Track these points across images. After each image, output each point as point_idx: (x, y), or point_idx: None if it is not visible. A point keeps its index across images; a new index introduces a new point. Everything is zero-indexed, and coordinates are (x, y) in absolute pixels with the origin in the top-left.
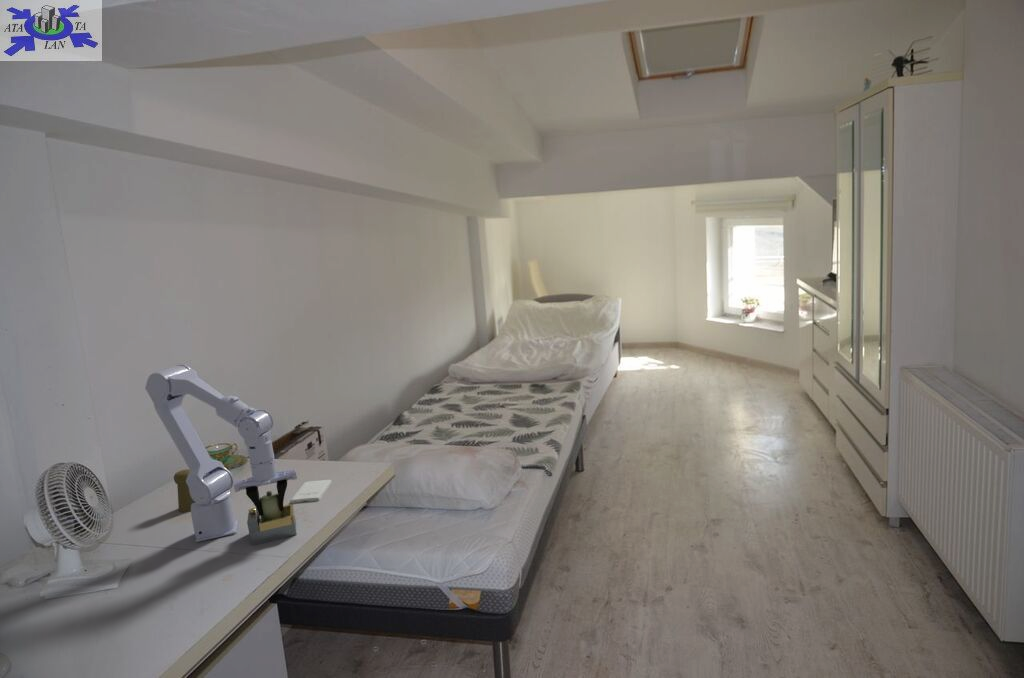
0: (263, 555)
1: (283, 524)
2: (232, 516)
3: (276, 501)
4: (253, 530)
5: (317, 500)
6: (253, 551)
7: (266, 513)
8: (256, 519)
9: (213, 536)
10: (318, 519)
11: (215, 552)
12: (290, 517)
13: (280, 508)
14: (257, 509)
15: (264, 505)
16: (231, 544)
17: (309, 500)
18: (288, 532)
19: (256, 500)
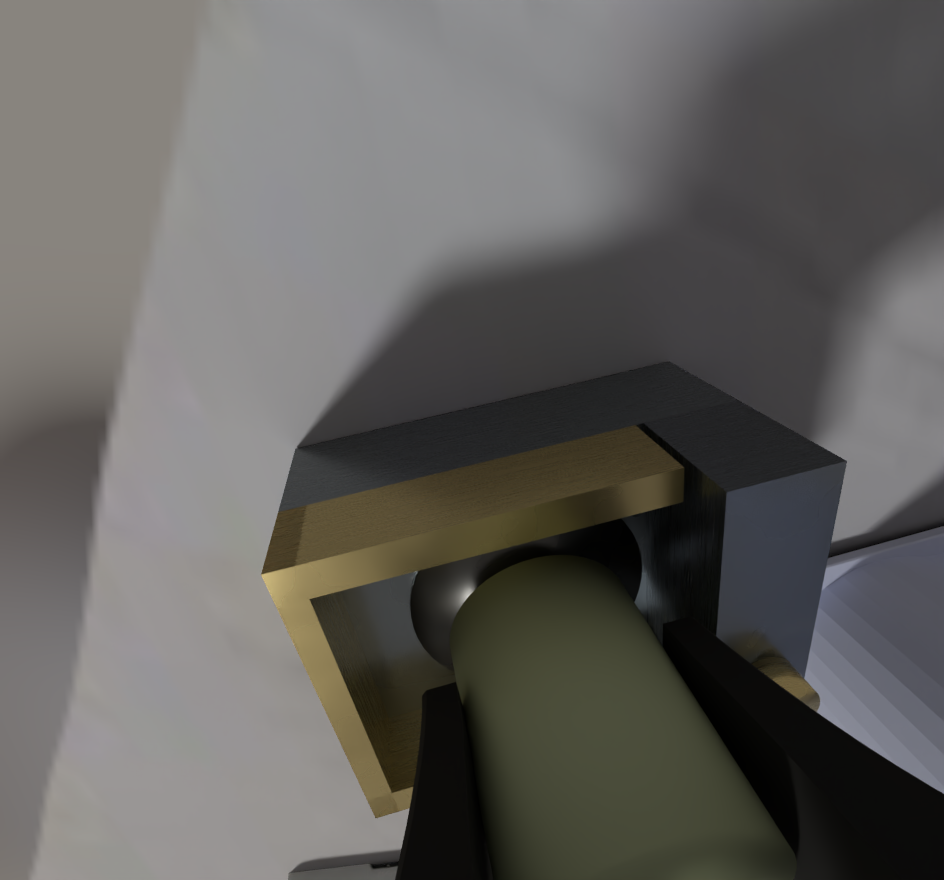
0: (541, 83)
1: (396, 493)
2: (850, 703)
3: (518, 823)
4: (711, 422)
5: (302, 873)
6: (646, 231)
7: (622, 630)
8: (735, 516)
9: (912, 546)
10: (180, 665)
11: (920, 330)
12: (298, 557)
13: (455, 710)
14: (767, 676)
15: (692, 739)
16: (807, 427)
17: (355, 872)
18: (359, 452)
19: (900, 831)
